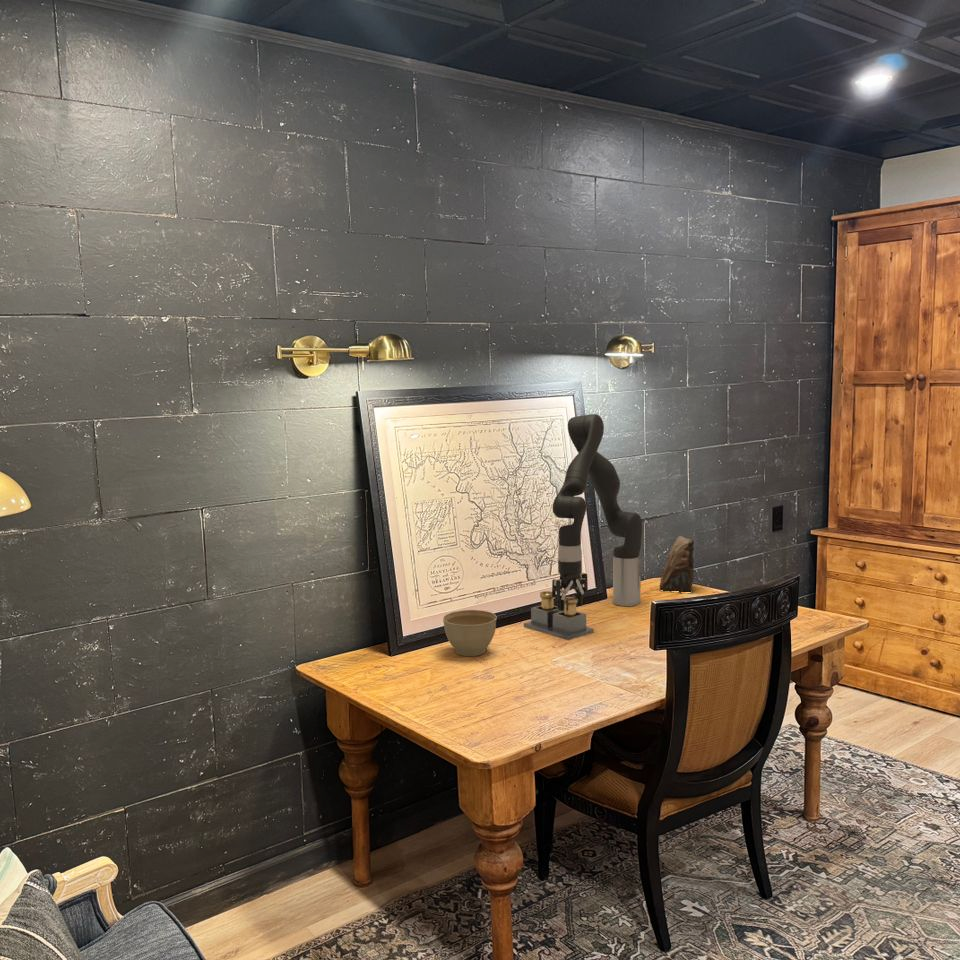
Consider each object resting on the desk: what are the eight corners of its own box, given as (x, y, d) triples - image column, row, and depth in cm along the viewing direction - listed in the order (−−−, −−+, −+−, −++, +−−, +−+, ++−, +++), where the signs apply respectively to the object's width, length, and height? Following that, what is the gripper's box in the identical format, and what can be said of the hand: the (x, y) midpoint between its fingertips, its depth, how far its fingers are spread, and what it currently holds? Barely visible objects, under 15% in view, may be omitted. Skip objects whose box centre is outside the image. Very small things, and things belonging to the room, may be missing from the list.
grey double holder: (549, 619, 307) (549, 587, 306) (593, 632, 292) (593, 598, 291) (523, 626, 299) (523, 593, 298) (568, 639, 284) (568, 605, 283)
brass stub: (569, 625, 295) (569, 595, 294) (580, 629, 292) (580, 598, 291) (559, 628, 292) (559, 598, 291) (570, 631, 289) (570, 601, 287)
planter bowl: (438, 646, 280) (437, 612, 278) (488, 641, 284) (488, 607, 282) (450, 662, 264) (449, 626, 263) (503, 657, 268) (503, 621, 267)
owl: (674, 584, 354) (675, 533, 351) (704, 589, 345) (705, 537, 343) (657, 590, 345) (658, 538, 342) (687, 596, 336) (688, 542, 334)
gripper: (576, 553, 296) (576, 601, 299) (545, 560, 287) (546, 610, 289) (593, 556, 291) (593, 606, 293) (562, 563, 281) (563, 614, 284)
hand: (570, 608), depth 291 cm, fingers open, 8 cm apart
